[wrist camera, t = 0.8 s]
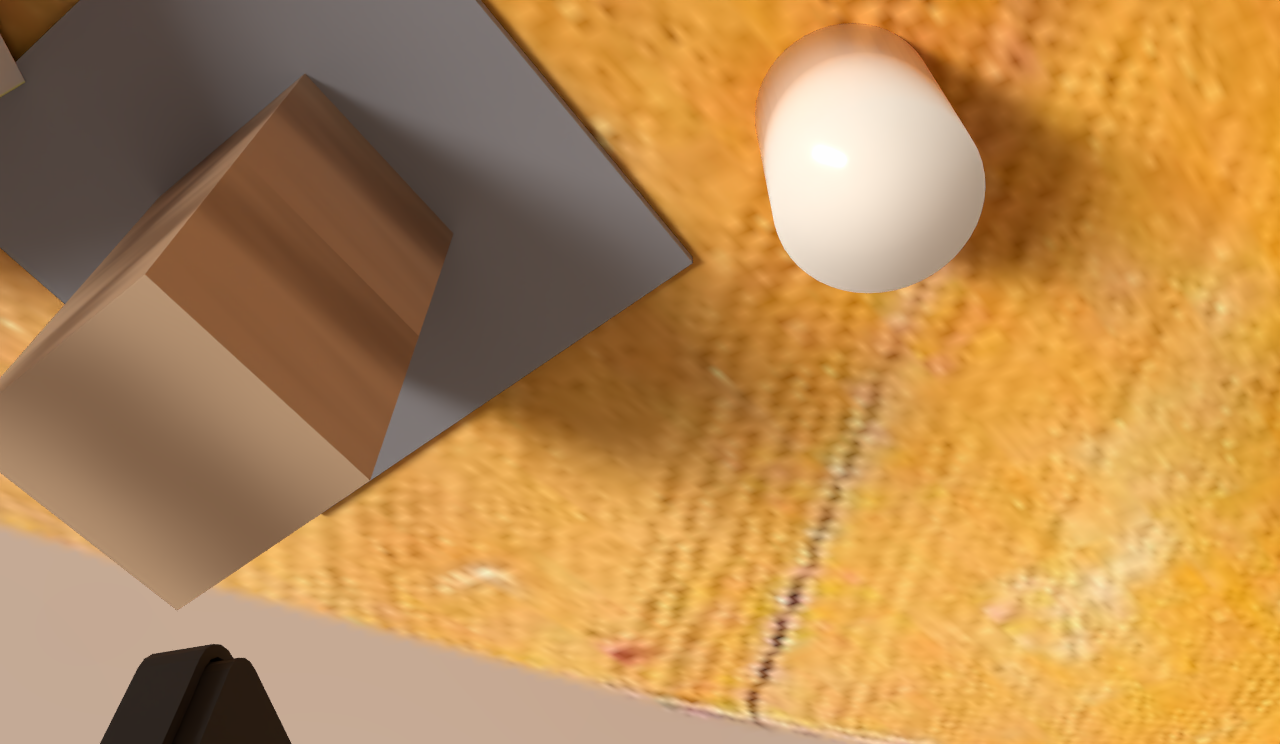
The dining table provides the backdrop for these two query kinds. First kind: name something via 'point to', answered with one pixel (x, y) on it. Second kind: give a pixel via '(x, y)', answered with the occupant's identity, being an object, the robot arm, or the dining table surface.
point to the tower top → (206, 390)
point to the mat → (388, 119)
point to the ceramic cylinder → (865, 160)
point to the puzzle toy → (8, 70)
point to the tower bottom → (329, 196)
